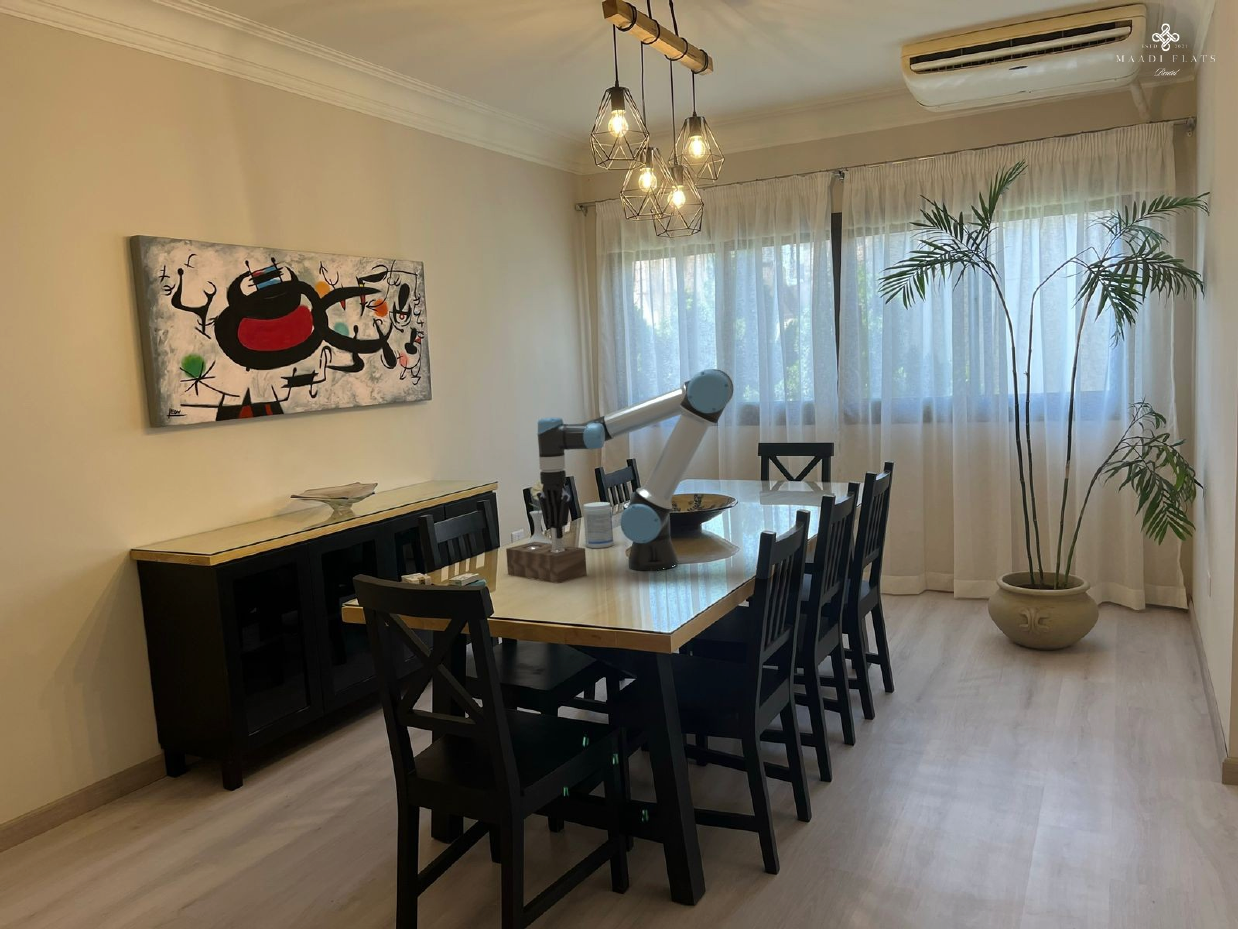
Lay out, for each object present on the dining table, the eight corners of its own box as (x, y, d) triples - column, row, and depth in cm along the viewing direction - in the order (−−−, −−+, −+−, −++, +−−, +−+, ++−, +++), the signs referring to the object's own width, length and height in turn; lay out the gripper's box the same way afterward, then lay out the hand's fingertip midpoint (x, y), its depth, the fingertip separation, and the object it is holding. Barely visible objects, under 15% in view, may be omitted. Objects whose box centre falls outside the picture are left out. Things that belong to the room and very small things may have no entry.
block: (586, 574, 273) (585, 548, 272) (557, 583, 264) (556, 556, 264) (536, 566, 288) (535, 541, 287) (507, 574, 279) (506, 548, 278)
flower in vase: (517, 555, 307) (511, 481, 304) (530, 548, 317) (526, 477, 315) (552, 556, 302) (548, 481, 300) (565, 548, 313) (561, 476, 310)
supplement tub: (618, 545, 313) (616, 503, 312) (595, 550, 308) (592, 507, 307) (603, 542, 322) (601, 500, 320) (580, 546, 316) (577, 504, 315)
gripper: (577, 469, 267) (581, 548, 270) (546, 467, 276) (551, 544, 279) (558, 472, 262) (563, 553, 265) (528, 470, 271) (533, 549, 273)
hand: (557, 548), depth 272 cm, fingers closed
